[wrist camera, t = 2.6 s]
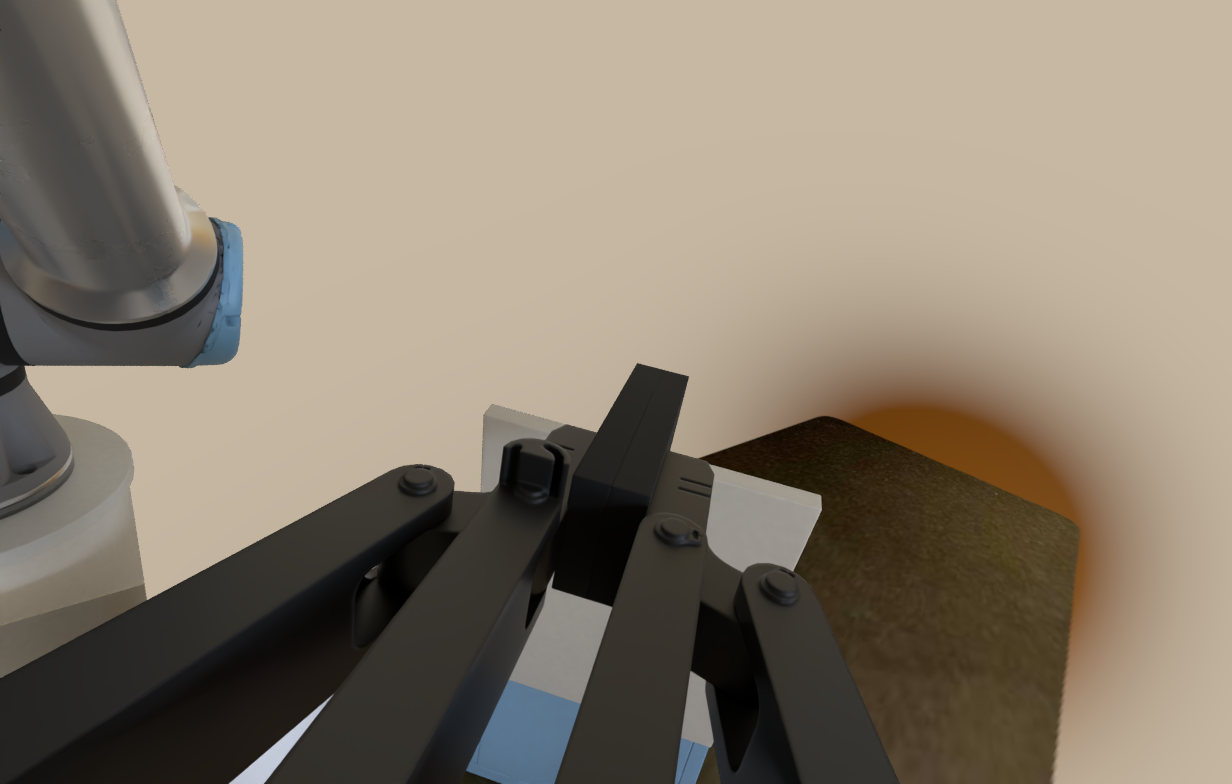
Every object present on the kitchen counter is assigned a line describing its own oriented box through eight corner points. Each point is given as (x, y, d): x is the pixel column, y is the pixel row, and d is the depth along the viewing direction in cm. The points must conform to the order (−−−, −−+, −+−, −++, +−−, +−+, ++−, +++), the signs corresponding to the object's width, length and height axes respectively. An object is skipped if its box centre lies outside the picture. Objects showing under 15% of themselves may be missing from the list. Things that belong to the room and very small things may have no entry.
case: (547, 593, 50) (562, 509, 47) (698, 641, 49) (726, 558, 45) (462, 769, 36) (476, 667, 33) (672, 845, 34) (709, 746, 31)
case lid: (491, 402, 24) (483, 414, 23) (821, 495, 22) (821, 509, 21) (480, 655, 33) (473, 668, 32) (712, 732, 31) (710, 748, 30)
